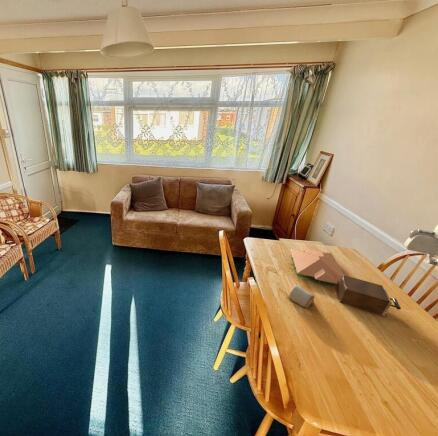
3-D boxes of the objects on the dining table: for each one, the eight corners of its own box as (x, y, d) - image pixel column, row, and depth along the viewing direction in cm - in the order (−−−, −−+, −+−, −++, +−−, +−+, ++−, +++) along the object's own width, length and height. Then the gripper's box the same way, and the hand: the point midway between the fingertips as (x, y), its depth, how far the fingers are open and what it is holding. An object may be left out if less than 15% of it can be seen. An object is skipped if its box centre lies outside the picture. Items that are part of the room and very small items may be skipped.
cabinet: (373, 300, 110) (382, 285, 106) (380, 317, 101) (389, 301, 97) (336, 289, 117) (342, 274, 112) (338, 304, 108) (346, 288, 104)
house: (296, 281, 123) (300, 268, 119) (288, 250, 150) (291, 239, 147) (348, 292, 115) (354, 279, 111) (329, 257, 142) (334, 246, 139)
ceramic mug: (305, 312, 104) (310, 299, 100) (286, 301, 110) (291, 288, 106) (315, 302, 109) (320, 289, 106) (296, 292, 115) (301, 280, 112)
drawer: (390, 304, 106) (397, 292, 103) (397, 320, 98) (405, 307, 95) (342, 290, 115) (348, 278, 111) (345, 304, 107) (351, 291, 103)
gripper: (416, 231, 91) (400, 260, 97) (496, 245, 82) (473, 276, 88) (410, 225, 96) (395, 253, 102) (485, 238, 87) (464, 267, 92)
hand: (432, 263), depth 95 cm, fingers closed
